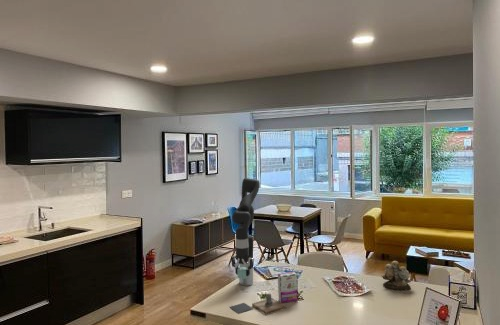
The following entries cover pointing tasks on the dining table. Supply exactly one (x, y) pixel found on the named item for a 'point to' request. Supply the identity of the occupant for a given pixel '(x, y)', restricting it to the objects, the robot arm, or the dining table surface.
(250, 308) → the mat
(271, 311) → the post base
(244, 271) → the cap
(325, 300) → the dining table surface
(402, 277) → the owl figurine
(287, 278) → the candy bar box
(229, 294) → the dining table surface
